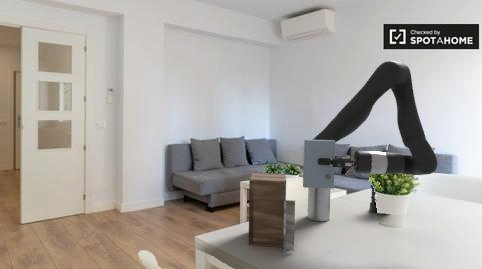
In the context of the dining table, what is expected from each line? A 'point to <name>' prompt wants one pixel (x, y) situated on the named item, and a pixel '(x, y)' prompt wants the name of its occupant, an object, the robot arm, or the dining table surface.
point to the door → (312, 170)
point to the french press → (373, 201)
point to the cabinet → (270, 212)
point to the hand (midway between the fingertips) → (317, 160)
